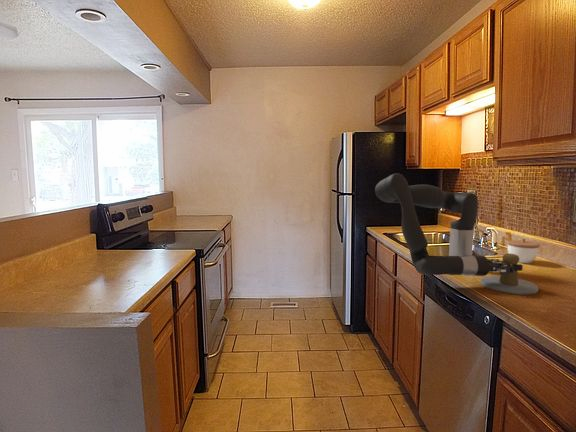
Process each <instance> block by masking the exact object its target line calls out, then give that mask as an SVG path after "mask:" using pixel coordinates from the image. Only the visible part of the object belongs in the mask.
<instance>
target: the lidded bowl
mask: <svg viewBox="0 0 576 432" xmlns="http://www.w3.org/2000/svg"><path fill="white" fill-rule="evenodd" d="M540 246H541V245H540V243H538V242H536V241H535V242H534V241H530V240H526V238H521V240H520V239H519V240H518V239H512V240H507V254H515V255H517V256H518V257H519V262H518V263H517V264H531V263H532V262H533V261H534V260H536V259H537V257H538V255H539V253H540V252H539V250H540Z"/></svg>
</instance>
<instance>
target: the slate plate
mask: <svg viewBox="0 0 576 432" xmlns="http://www.w3.org/2000/svg"><path fill="white" fill-rule="evenodd" d="M500 276H501V275H485V276H482V278H481V279H480V284H481V285H482V286H483V287H484V288H487V289H489V290H493V291H496V292H500V293H503V294H504V293H505V294H511V295H519V296H521V295H523V296H524V295H530V296H531V295H535V294H537V293H538V292H539V285H537V284H535V283H534V282H532V281H530V280H529V281H528V280H525V279H521V278H518V285H516V286H511V285H505V284H502V283H500V282H499V280H500Z"/></svg>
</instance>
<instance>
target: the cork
mask: <svg viewBox="0 0 576 432" xmlns="http://www.w3.org/2000/svg"><path fill="white" fill-rule="evenodd" d="M502 260H503V261H504V263H505V264H519V263H518V262H519V257H518V256H517V255H515V254H508V253H504V254H503V256H502ZM518 272H519V271H514V273H509V274H500V275H499V276H500V280H499V282H500V283H502V284H505V285H511V286H516V285H518V279H519V276H518V275H519V274H518Z"/></svg>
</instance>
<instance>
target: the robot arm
mask: <svg viewBox="0 0 576 432" xmlns="http://www.w3.org/2000/svg"><path fill="white" fill-rule="evenodd" d="M374 192H375V195H376V197H377V198H378V200H380V201H382V202H385V203H395V204H400V207H401V208H400V209H401V232H402V236H403V238H404V240H405V243H406V246H407V247H408V249H409V253H410V257H411V258H410V259H411V262H412V265H413V267H414V269H415V270H416V272H417V273H419V275H426V276H441V275H442V276H443V275H449V276H464V277H465V276H466V277H486V276H488V274H489V272H490V273H499V274H500V275H501V274H509V273H514V271H517V272H519V271H520V272H521V271H523V265H522V263H517V264H505V263H504V261H503V259H502V260H500V259H499V258H497V259H496V258H487V256H485V255H479V254H478V255H475V254H474V255H473V248H474V247H473V246H474V245H473V244H474V231H475V230H474V229H475V224H476V222H477V215H478V207H479V201H478V200H479V199H478V196H477V194H475V193H473V192H459V191H457V192H455V191H454V192H453V191H452V192H450V191H444V190H443V189H442V188H441V187H438V186H435V185H431V184H425V183H424V184H423V183H421V184H414V185H412V184H411V185H410V184H409V183H408V180H407V179H406V178H405V177H404V175H403V174H402V173H399V172H397V173H393V174H390V175H388V176H387V177H385V178H383V179H382V180H380V181H378V183H377V184H376V185H375V188H374ZM415 206H419V207H422V208H427V209H428V208H429V209H439V208H440V209H444V210H446V211H449V212H451V213H456V214H460V215H461V216H460V218H459V219H457V220H453V221H451V223H450V231H449V247H448V249H449V250H448V255H447V256H443V255H429V252H428V249H427V248H428V246H429V244H428V240H427V238H426V236H425V234H424V231H423V229H422V227H421V224H420V221H419V218H418V215H417V212H416V207H415Z"/></svg>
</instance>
